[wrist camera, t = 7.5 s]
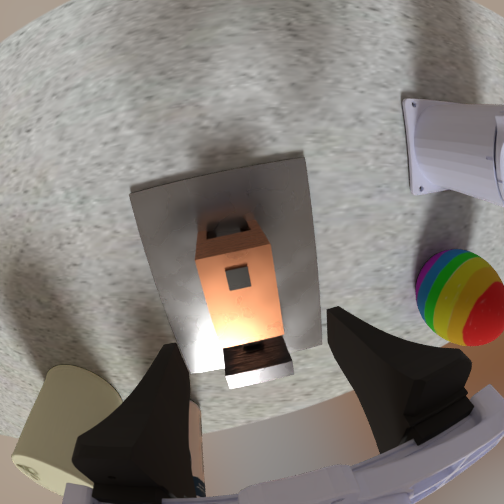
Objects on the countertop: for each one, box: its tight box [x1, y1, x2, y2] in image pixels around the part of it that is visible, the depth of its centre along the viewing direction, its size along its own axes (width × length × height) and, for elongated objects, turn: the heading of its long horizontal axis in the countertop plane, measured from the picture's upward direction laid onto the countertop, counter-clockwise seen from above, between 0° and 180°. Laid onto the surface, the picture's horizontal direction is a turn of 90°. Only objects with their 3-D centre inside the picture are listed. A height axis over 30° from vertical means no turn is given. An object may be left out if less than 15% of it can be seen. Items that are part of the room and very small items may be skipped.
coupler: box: [129, 157, 322, 389], centre depth 20 cm, size 12×16×4 cm
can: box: [11, 365, 123, 496], centre depth 19 cm, size 9×9×12 cm
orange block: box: [195, 220, 284, 348], centre depth 18 cm, size 4×6×5 cm, turn 10°
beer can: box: [188, 400, 206, 498], centre depth 20 cm, size 5×5×12 cm
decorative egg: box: [416, 249, 504, 346], centre depth 20 cm, size 8×8×10 cm
